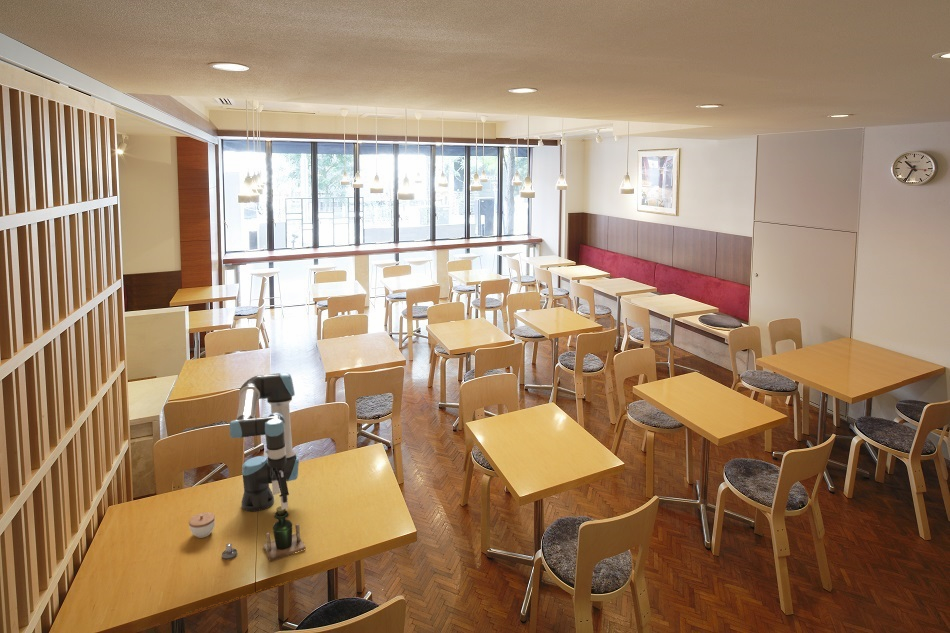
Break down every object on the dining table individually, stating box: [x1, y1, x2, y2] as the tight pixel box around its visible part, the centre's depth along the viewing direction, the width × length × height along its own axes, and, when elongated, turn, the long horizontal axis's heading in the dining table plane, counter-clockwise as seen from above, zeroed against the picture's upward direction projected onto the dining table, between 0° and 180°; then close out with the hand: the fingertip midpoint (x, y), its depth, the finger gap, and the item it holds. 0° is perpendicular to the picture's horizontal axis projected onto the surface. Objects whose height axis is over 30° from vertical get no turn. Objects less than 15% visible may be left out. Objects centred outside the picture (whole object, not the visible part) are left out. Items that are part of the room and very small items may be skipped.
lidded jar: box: [188, 511, 216, 539], centre depth 264 cm, size 11×11×9 cm
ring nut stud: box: [221, 542, 238, 561], centre depth 249 cm, size 6×6×5 cm
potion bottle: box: [272, 505, 293, 550], centre depth 252 cm, size 8×8×18 cm
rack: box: [262, 523, 307, 563], centre depth 253 cm, size 12×15×10 cm
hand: (280, 500), depth 249 cm, fingers open, 13 cm apart
